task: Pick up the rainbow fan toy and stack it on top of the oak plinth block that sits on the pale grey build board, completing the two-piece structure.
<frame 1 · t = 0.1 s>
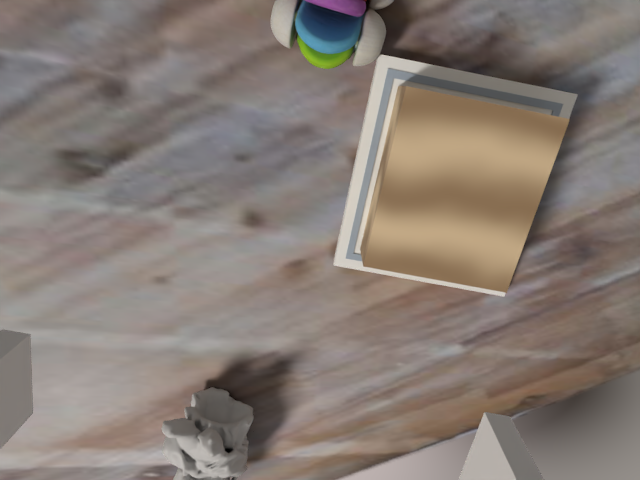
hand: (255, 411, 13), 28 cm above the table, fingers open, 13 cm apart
white crumpled lump: (214, 420, 48), on the table
rainbow fan toy: (335, 4, 34), on the table
oak plinth: (447, 185, 37), point 1 cm above the table, touching build board
build board: (443, 182, 39), on the table
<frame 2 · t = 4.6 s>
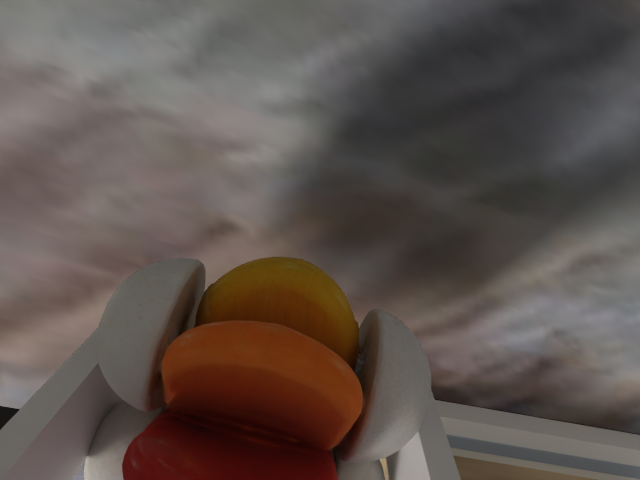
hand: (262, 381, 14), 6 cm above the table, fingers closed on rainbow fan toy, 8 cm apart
rainbow fan toy: (265, 370, 15), point 6 cm above the table, touching gripper
when the fingers open (6 cm above the table, at t = 8.7 s): rainbow fan toy stays where it is, resting on oak plinth.
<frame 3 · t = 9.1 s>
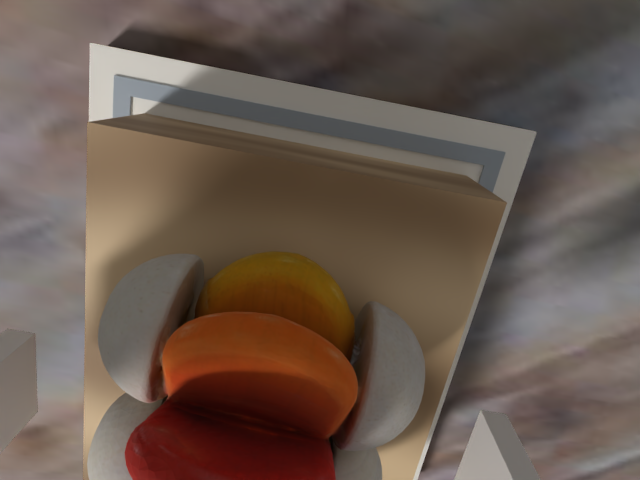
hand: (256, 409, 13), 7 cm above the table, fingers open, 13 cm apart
rainbow fan toy: (263, 363, 15), point 5 cm above the table, touching oak plinth
oak plinth: (278, 311, 19), point 1 cm above the table, touching build board, rainbow fan toy
build board: (281, 298, 20), on the table
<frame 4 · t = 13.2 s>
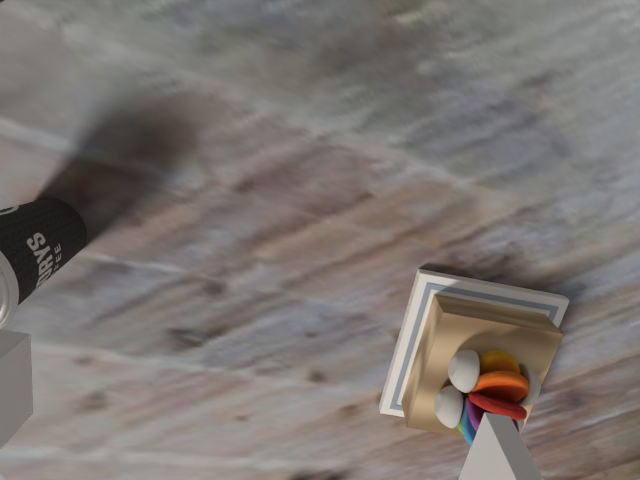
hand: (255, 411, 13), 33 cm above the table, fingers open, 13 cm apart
coffee cup: (56, 228, 46), on the table
rainbow fan toy: (478, 380, 45), point 5 cm above the table, touching oak plinth
oak plinth: (469, 359, 49), point 1 cm above the table, touching build board, rainbow fan toy
build board: (466, 353, 50), on the table
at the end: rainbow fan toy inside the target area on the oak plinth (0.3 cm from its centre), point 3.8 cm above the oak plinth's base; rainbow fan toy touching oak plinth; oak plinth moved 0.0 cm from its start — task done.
